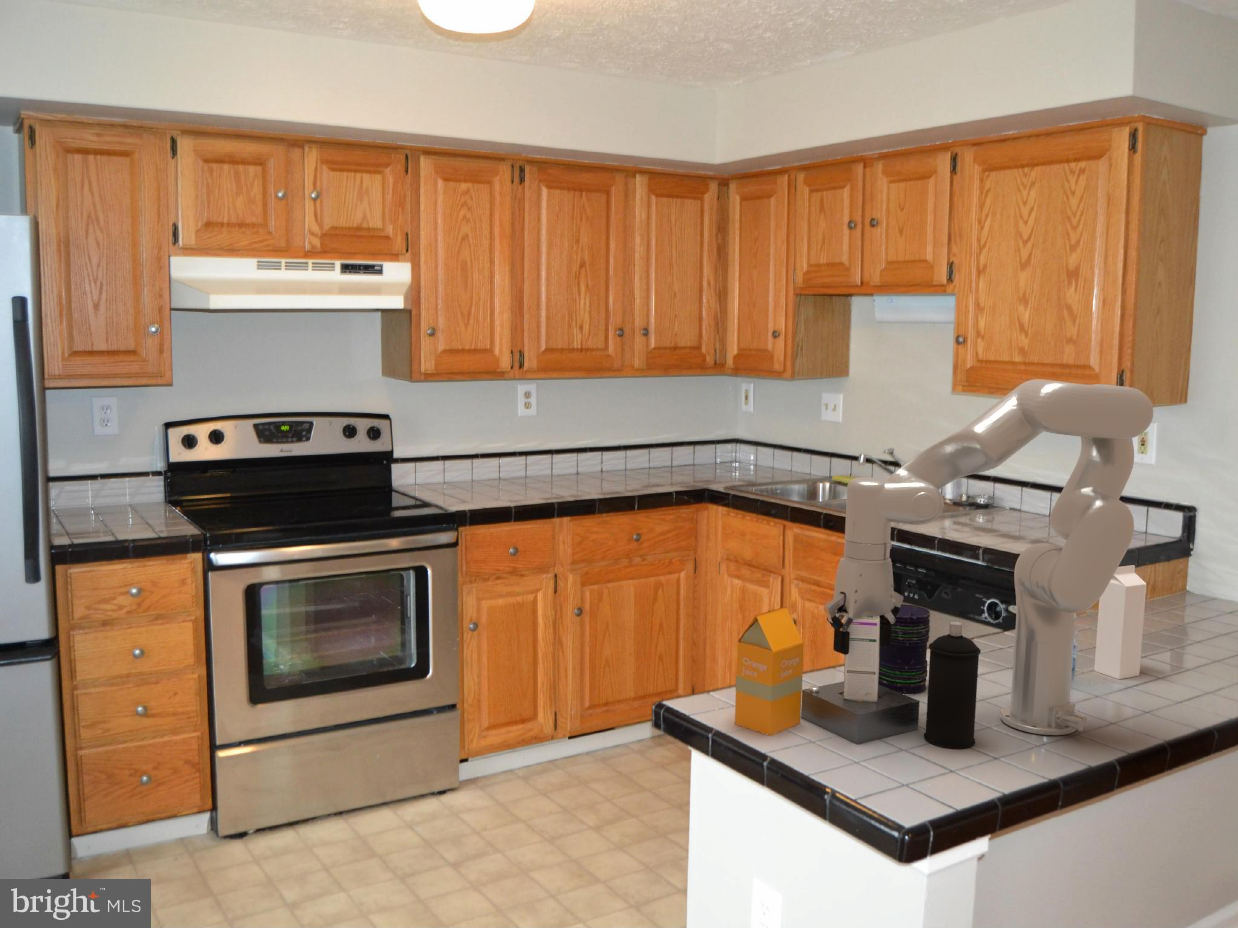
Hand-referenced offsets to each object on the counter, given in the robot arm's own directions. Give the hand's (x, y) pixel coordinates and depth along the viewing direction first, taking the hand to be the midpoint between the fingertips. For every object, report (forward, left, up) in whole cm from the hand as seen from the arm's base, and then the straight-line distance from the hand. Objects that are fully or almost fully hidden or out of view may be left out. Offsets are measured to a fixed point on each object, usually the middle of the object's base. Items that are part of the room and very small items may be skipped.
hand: (862, 648), depth 186 cm
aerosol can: (-13, -8, -14) cm, 20 cm away
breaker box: (0, 0, -13) cm, 13 cm away
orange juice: (+8, +14, -14) cm, 21 cm away
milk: (-4, -66, -14) cm, 67 cm away
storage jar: (+11, -21, -14) cm, 27 cm away
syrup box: (0, 0, -8) cm, 9 cm away
